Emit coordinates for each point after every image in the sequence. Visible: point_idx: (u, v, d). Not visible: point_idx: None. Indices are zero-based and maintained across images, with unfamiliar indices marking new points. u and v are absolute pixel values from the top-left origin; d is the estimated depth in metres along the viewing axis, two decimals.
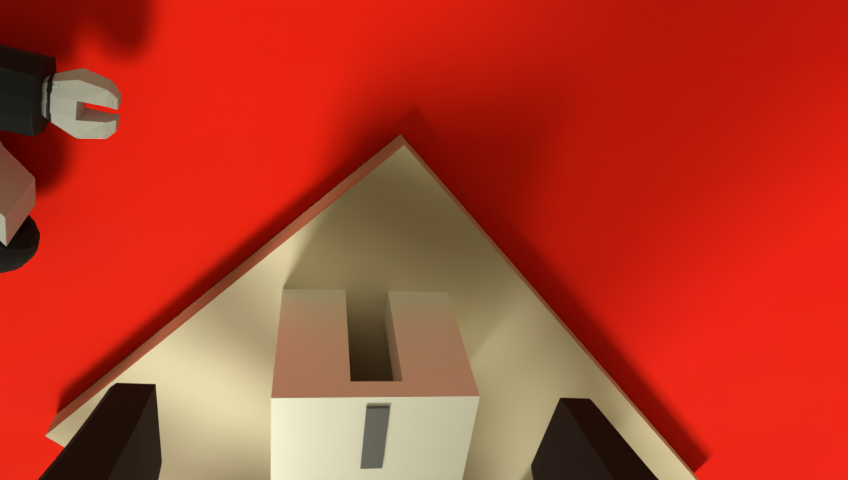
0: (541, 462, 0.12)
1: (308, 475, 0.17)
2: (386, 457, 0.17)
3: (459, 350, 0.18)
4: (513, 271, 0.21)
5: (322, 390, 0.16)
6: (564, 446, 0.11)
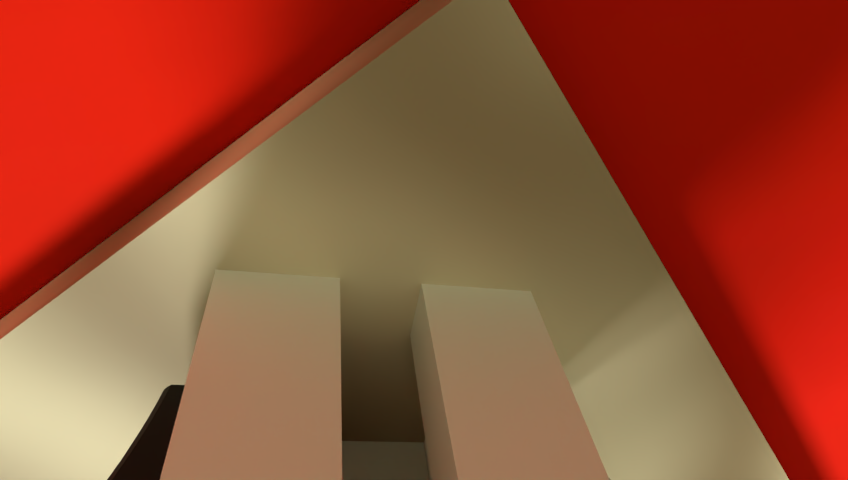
0: None
1: None
2: None
3: (577, 430, 0.08)
4: (658, 259, 0.11)
5: None
6: None
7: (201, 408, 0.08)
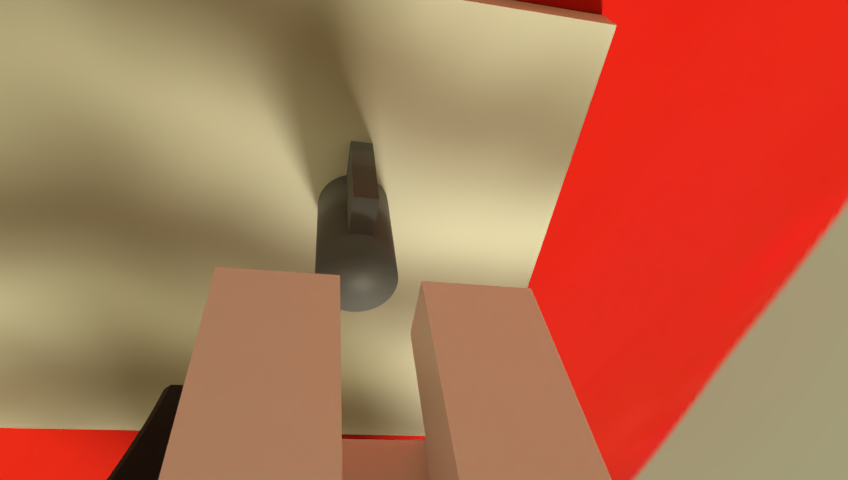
0: None
1: None
2: None
3: (578, 427, 0.08)
4: None
5: None
6: None
7: (201, 405, 0.08)
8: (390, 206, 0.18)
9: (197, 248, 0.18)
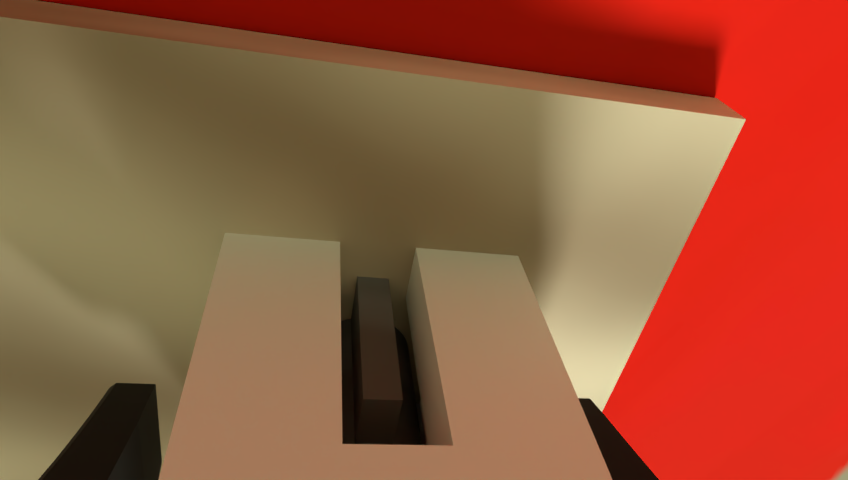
0: None
1: None
2: None
3: (557, 373, 0.09)
4: None
5: (279, 466, 0.07)
6: None
7: (214, 348, 0.08)
8: (411, 353, 0.13)
9: None
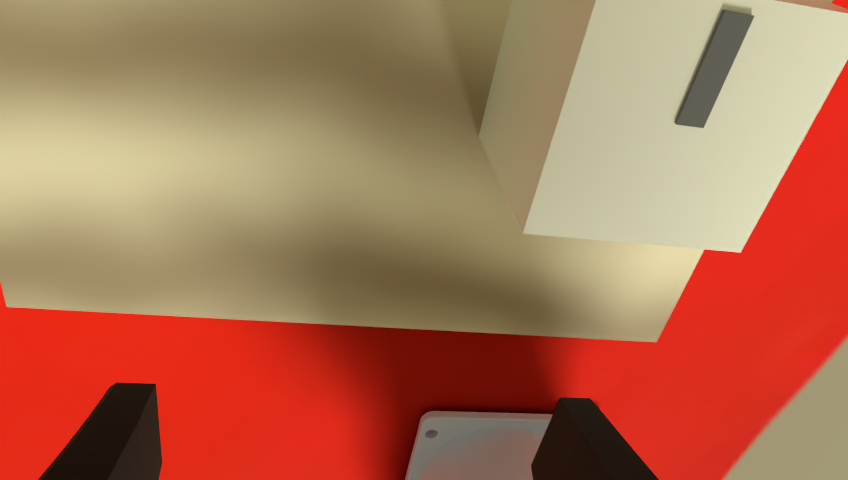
0: (541, 462, 0.12)
1: (605, 128, 0.12)
2: (713, 111, 0.12)
3: None
4: None
5: None
6: (564, 446, 0.11)
7: None
8: None
9: (427, 105, 0.17)
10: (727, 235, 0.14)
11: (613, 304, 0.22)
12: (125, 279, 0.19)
